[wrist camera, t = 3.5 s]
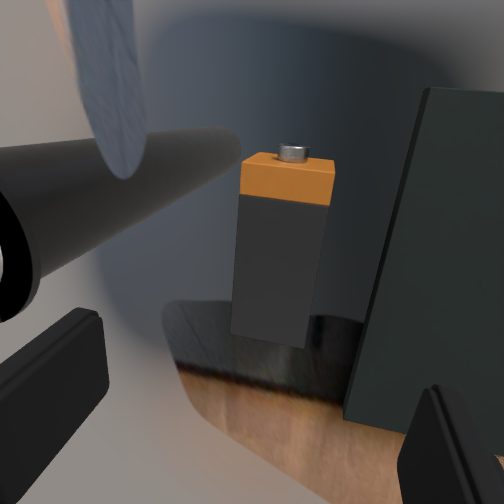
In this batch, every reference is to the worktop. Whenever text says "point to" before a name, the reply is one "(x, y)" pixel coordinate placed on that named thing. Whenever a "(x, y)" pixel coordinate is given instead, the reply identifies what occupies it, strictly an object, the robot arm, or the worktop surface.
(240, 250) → the battery
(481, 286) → the mat
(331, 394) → the worktop surface
